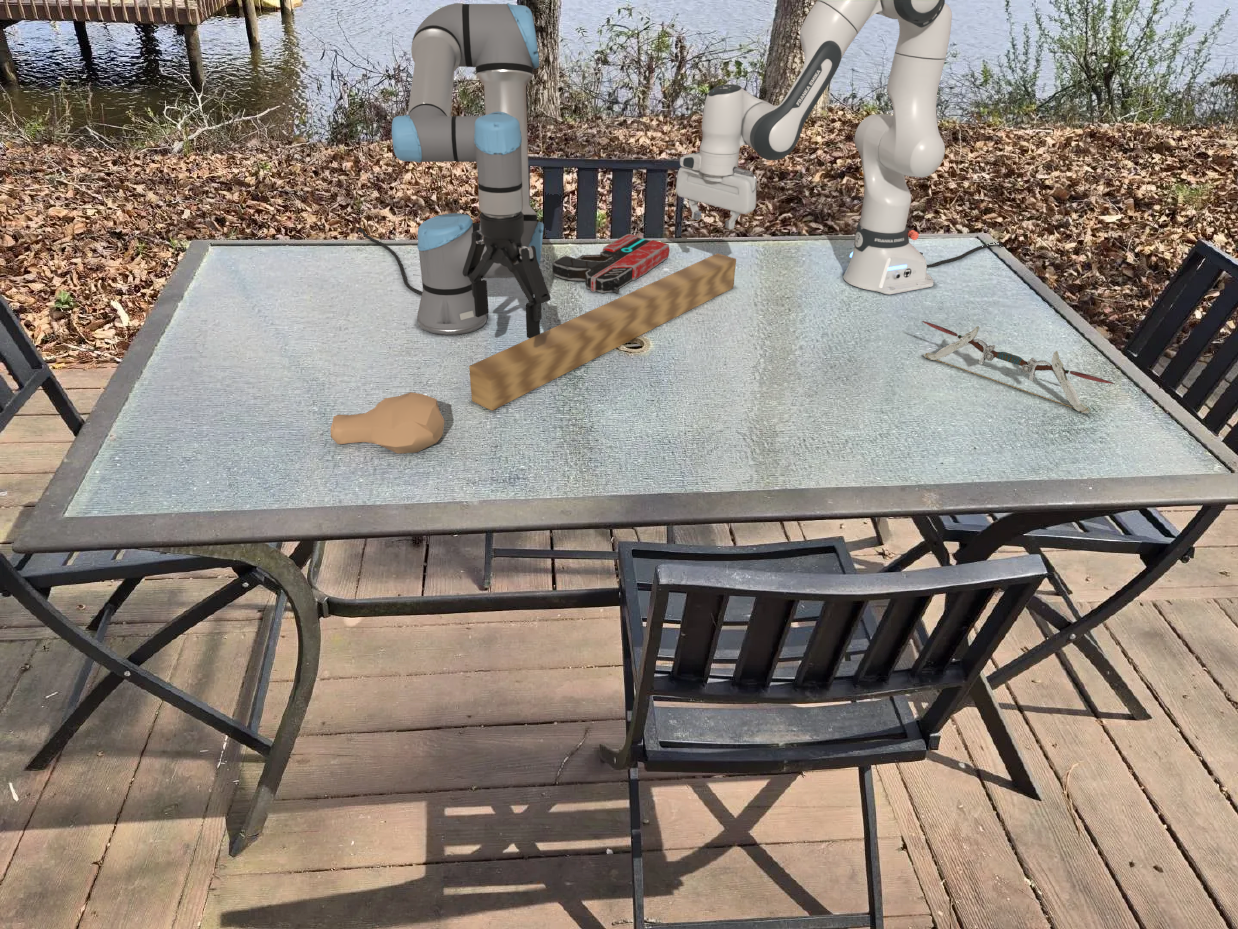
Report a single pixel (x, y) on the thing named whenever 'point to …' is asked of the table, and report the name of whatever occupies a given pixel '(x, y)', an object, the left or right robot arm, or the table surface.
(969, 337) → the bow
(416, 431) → the squash
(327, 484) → the table surface
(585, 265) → the gun
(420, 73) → the left robot arm
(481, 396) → the bar
